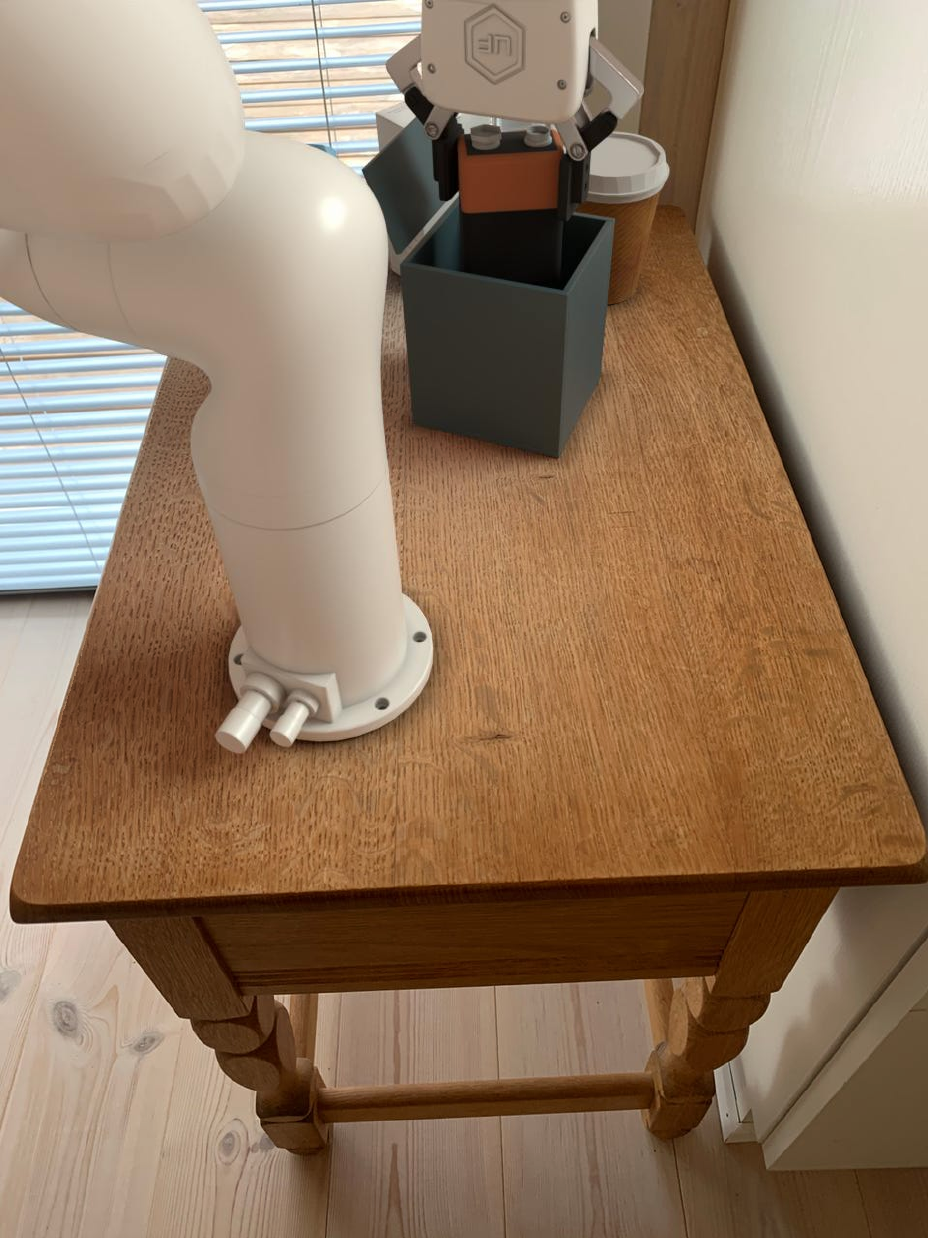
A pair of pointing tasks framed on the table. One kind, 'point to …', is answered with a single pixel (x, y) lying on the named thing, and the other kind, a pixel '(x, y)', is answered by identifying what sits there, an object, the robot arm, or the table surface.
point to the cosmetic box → (390, 127)
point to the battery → (510, 203)
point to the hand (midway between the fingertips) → (509, 200)
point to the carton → (505, 338)
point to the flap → (405, 184)
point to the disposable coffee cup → (626, 201)
